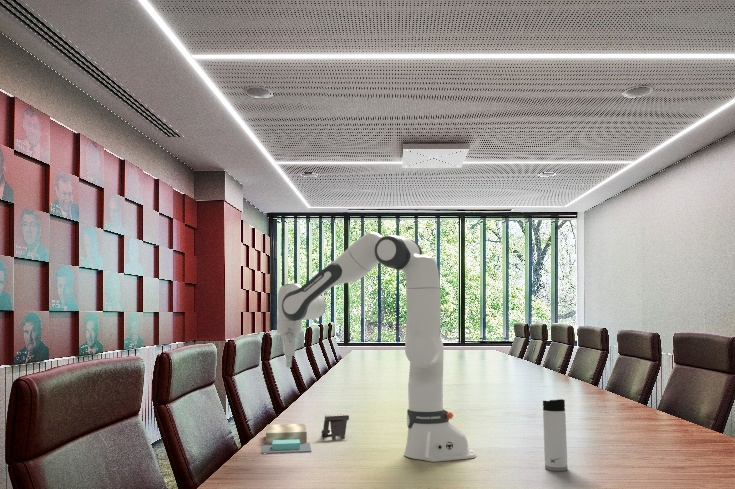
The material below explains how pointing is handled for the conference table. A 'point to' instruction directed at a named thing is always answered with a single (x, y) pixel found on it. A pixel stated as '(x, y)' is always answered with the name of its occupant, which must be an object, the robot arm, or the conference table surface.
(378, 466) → the conference table surface
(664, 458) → the conference table surface
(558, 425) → the travel mug
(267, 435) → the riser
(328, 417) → the portable electronic device stand
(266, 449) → the mat
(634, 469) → the conference table surface
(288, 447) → the turquoise rectangular block
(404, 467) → the conference table surface
